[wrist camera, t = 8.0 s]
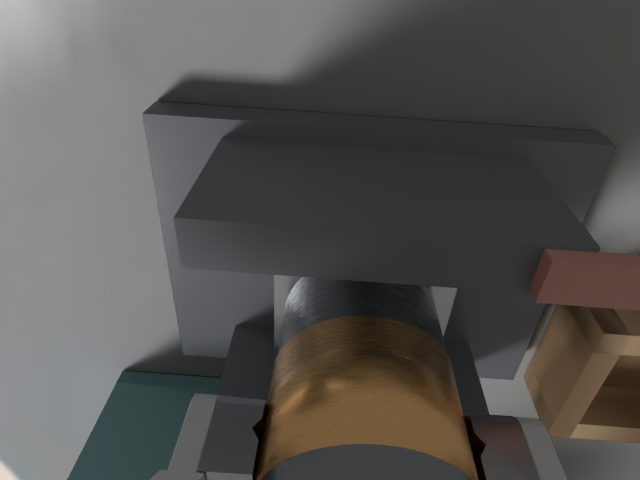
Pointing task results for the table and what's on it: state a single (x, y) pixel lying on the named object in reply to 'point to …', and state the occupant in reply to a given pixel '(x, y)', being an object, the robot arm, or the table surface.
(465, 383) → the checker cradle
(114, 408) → the cup
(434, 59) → the table surface
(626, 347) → the trough
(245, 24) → the table surface
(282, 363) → the cell
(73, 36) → the table surface
